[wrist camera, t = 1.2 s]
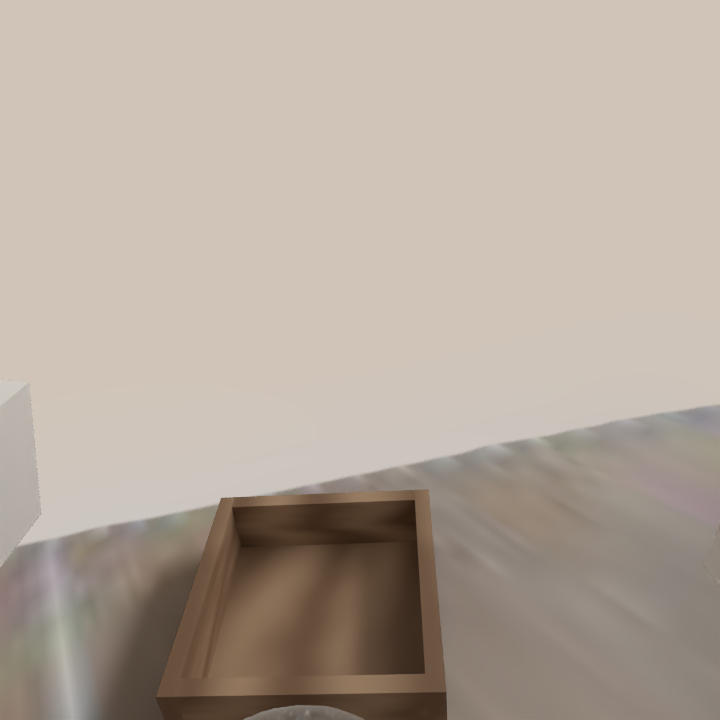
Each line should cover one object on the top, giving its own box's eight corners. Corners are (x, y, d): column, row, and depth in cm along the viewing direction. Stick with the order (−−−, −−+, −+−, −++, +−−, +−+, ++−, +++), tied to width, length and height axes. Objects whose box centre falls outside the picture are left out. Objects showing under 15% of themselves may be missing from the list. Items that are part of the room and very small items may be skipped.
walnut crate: (430, 540, 47) (428, 489, 44) (447, 747, 34) (446, 691, 31) (233, 547, 48) (221, 497, 46) (177, 750, 35) (155, 696, 33)
